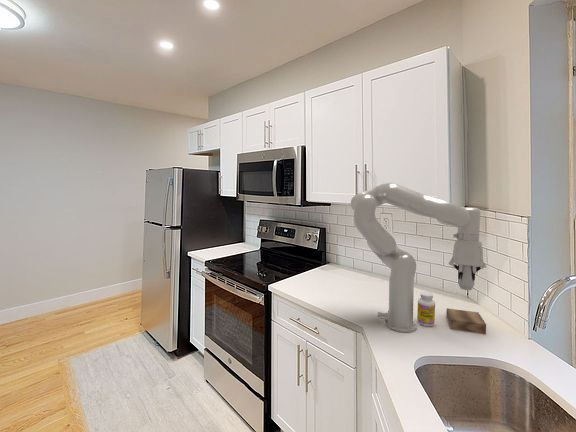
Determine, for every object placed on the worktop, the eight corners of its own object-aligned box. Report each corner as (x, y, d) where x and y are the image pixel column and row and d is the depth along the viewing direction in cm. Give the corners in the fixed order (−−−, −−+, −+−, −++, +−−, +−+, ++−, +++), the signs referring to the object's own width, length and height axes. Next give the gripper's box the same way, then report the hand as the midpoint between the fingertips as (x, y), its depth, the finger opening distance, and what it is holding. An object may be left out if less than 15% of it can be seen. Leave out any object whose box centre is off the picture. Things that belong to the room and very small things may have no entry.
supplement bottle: (417, 325, 116) (418, 295, 115) (416, 318, 122) (417, 290, 122) (435, 328, 114) (436, 297, 113) (433, 321, 120) (434, 292, 119)
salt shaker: (468, 286, 118) (469, 256, 117) (477, 290, 112) (479, 259, 111) (454, 286, 118) (455, 256, 117) (463, 291, 112) (464, 259, 111)
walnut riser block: (450, 329, 113) (451, 319, 113) (446, 317, 124) (446, 308, 124) (485, 334, 108) (486, 324, 108) (478, 321, 119) (478, 312, 119)
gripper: (446, 237, 113) (445, 281, 114) (494, 240, 107) (492, 286, 108) (444, 235, 120) (442, 276, 121) (489, 237, 114) (487, 281, 115)
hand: (466, 281), depth 115 cm, fingers closed on salt shaker, 3 cm apart
